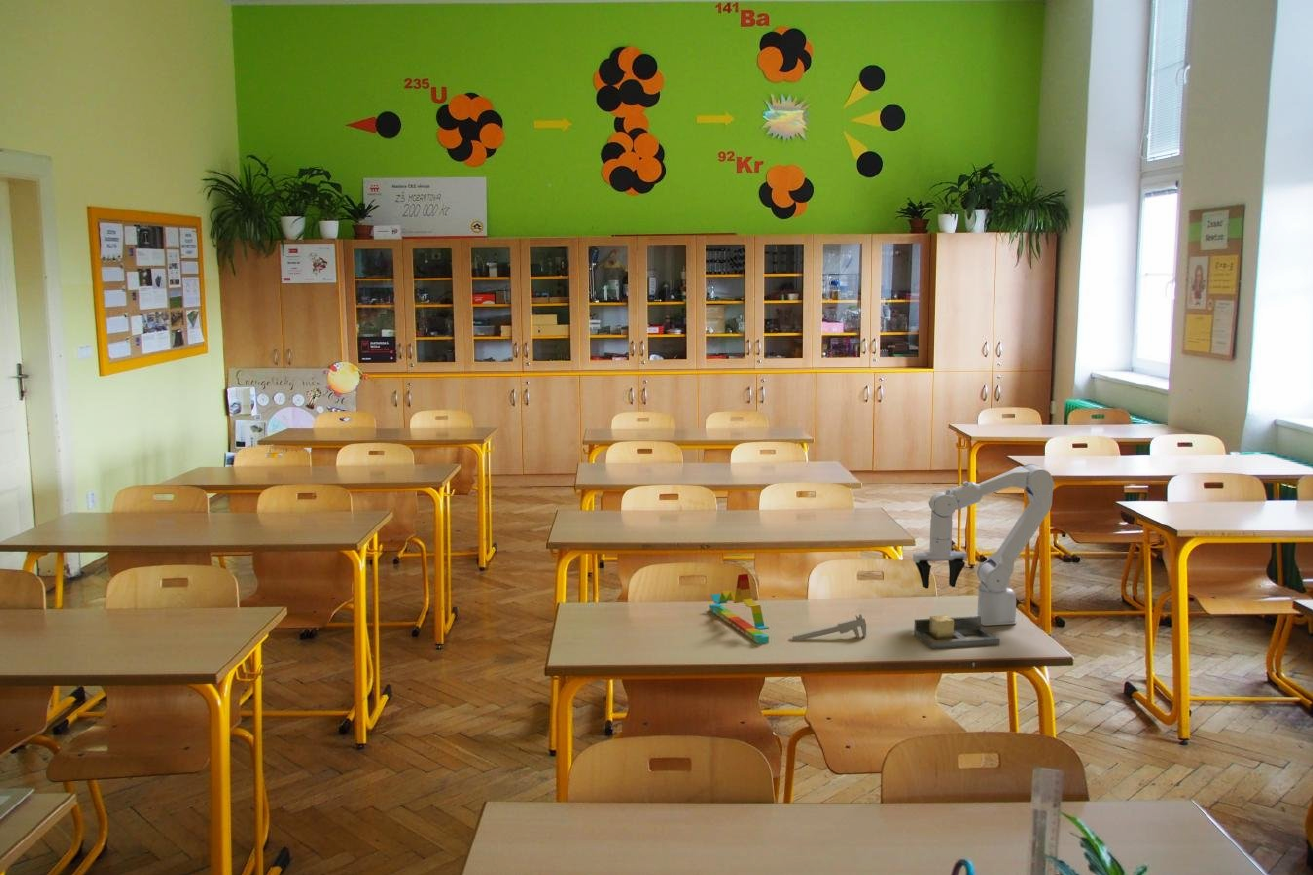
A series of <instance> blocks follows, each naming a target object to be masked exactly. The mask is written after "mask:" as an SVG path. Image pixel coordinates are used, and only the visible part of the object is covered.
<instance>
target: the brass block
mask: <svg viewBox="0 0 1313 875" xmlns="http://www.w3.org/2000/svg"><path fill="white" fill-rule="evenodd" d="M951 618H952V617H950V616H948V615H946V614H945V615H929V619H930V620H929V636H930V637H931V638H933V639H934V640H948V639H953V637H954V620H953V619H951Z"/></svg>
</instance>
